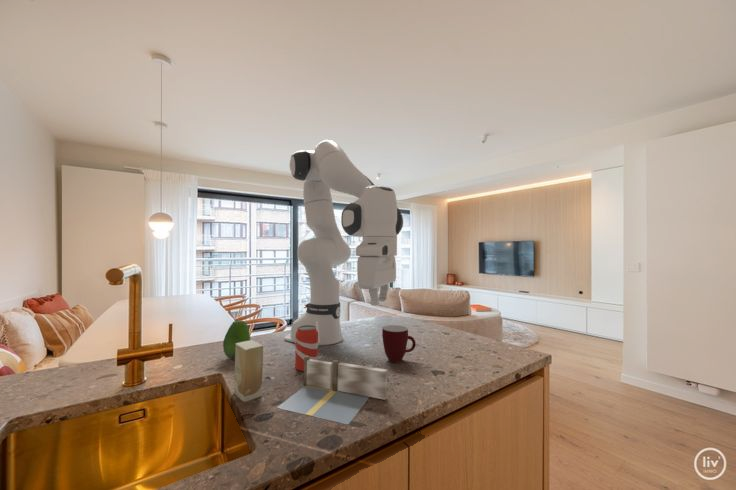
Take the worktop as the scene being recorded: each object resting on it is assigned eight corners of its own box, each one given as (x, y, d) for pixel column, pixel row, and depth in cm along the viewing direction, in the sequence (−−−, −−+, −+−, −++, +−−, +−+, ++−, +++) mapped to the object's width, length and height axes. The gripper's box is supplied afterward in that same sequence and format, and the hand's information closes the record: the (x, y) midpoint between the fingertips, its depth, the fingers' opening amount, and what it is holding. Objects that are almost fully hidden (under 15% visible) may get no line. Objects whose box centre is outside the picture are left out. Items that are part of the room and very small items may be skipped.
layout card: (276, 409, 65) (276, 407, 65) (312, 381, 79) (312, 379, 79) (348, 426, 59) (348, 424, 59) (373, 392, 73) (373, 390, 73)
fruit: (219, 357, 95) (220, 319, 95) (244, 352, 100) (245, 316, 101) (227, 365, 89) (227, 324, 89) (253, 359, 94) (254, 320, 95)
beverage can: (318, 372, 85) (318, 329, 85) (294, 373, 83) (295, 330, 84) (317, 364, 91) (317, 324, 91) (295, 365, 89) (296, 325, 89)
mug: (409, 354, 100) (410, 324, 100) (419, 363, 92) (419, 330, 92) (379, 356, 98) (379, 325, 98) (386, 366, 90) (386, 332, 90)
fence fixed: (302, 385, 76) (303, 357, 76) (305, 383, 77) (306, 355, 77) (336, 391, 72) (336, 362, 72) (338, 389, 74) (339, 360, 74)
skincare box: (233, 394, 71) (234, 342, 72) (251, 388, 74) (252, 339, 75) (244, 404, 67) (245, 349, 67) (263, 397, 70) (263, 345, 70)
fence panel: (337, 390, 72) (337, 364, 72) (339, 388, 73) (340, 362, 74) (385, 399, 68) (385, 371, 68) (386, 397, 69) (387, 369, 69)
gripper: (380, 248, 87) (380, 296, 87) (352, 248, 68) (351, 309, 68) (401, 249, 85) (401, 297, 85) (378, 248, 66) (378, 311, 66)
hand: (379, 303), depth 76 cm, fingers open, 5 cm apart
